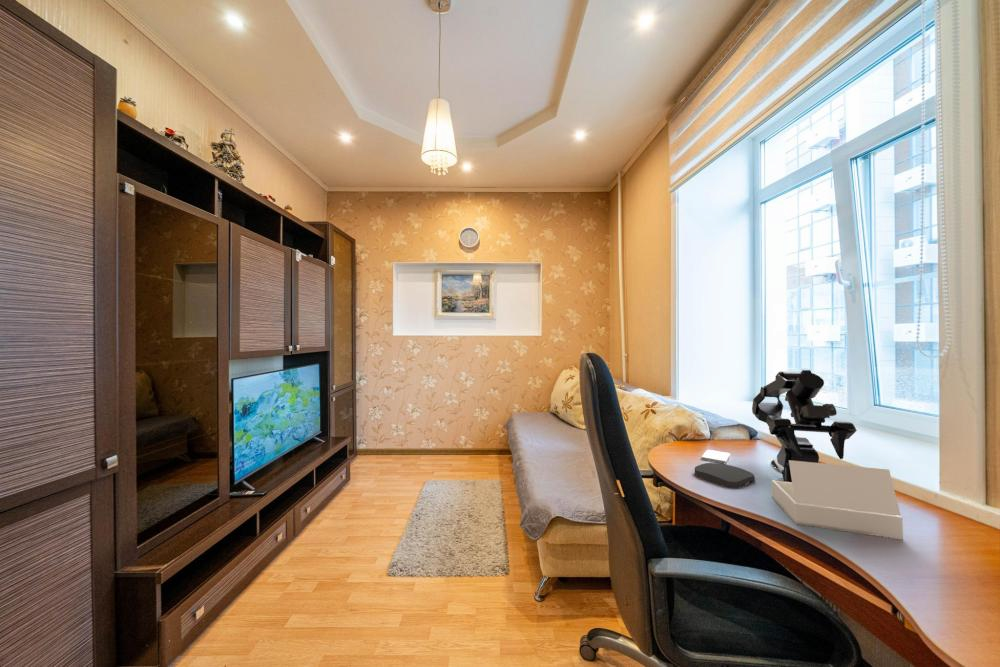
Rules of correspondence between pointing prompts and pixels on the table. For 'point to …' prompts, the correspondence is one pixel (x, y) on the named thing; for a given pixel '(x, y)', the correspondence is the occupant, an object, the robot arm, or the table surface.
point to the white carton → (836, 515)
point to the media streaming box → (725, 474)
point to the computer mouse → (777, 465)
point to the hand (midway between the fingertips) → (820, 456)
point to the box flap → (844, 487)
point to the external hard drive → (716, 456)
